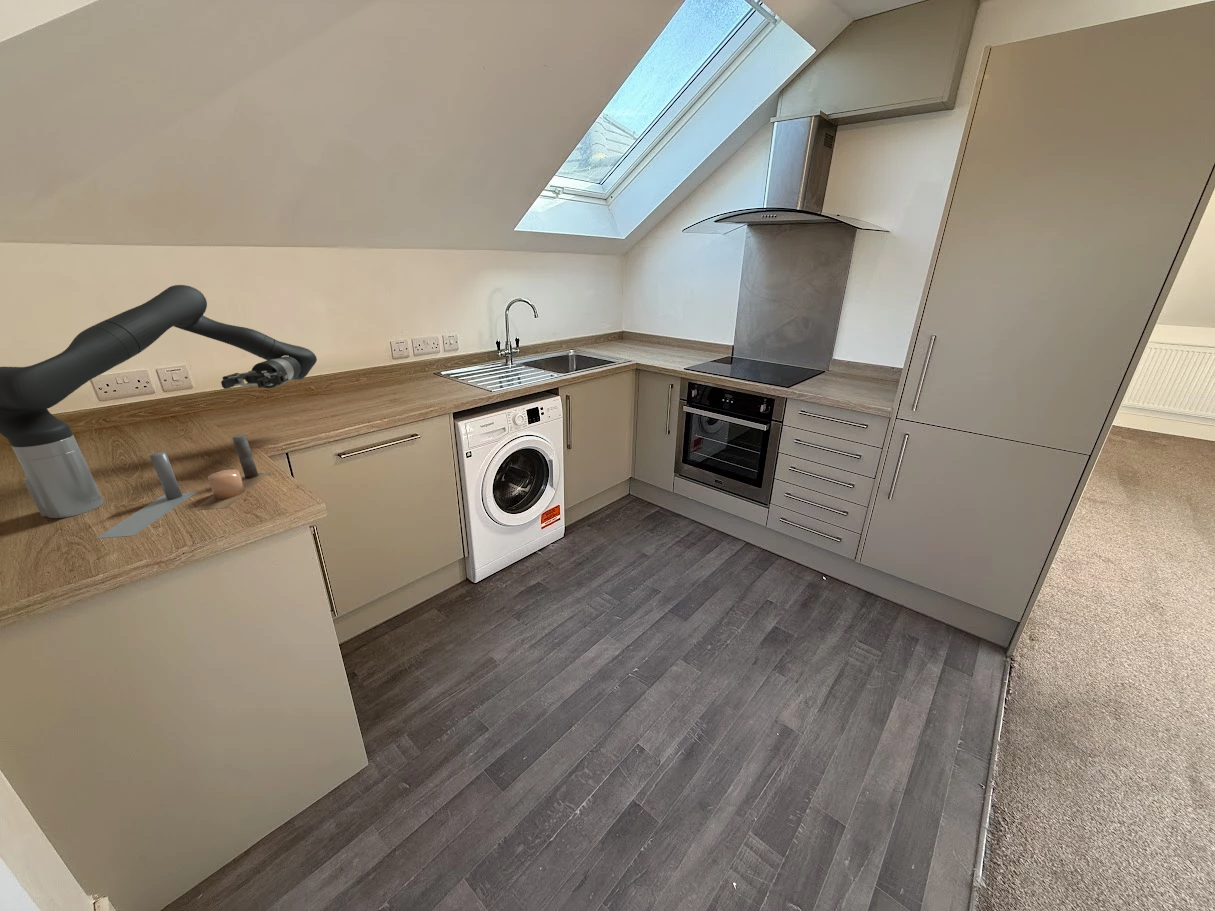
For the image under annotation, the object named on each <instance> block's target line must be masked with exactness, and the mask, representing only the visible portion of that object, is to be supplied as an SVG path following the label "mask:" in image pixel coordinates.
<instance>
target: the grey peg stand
mask: <svg viewBox="0 0 1215 911" xmlns="http://www.w3.org/2000/svg"><path fill="white" fill-rule="evenodd" d="M149 457H150V460H151V463H152V465H153V467H154V470H155V473H156V474H157V475H156V476H157V477H158V480H159V482H160V485H161V487H162V490H163V492H164V494H162V495H161V496H159V497H158V498H156V499H154V500H153V501H152V502H151V501H150V503H148V504H147V505H146V506H144V507H142V508H141V509H139V510H138V511H136V512H134V513H133V514H131V515H129V516H128V517H127V518H125V519H124V520H122V521H120V522H118V523H117V524H116V525H113V527H111V528H109V529H108V530H106V531H104V532H103V533H102V534H100V535H98V536H97V537H95V539H96V540H97V539H108V538H109V539H110V538H120V537H122V538H123V537H134V536H136V535H138V534H139V533H140V532H141V531H143V530H144V529H146V528H147V527H149V526H150V525H151V524H153V523H154V522H156V521H158V520H159V519H161V518H162V517H163V516H165V515H166V514H168V513H169V512H171V511H172V510H174V509H175V508H176V507H178V506H179V505H181V504H182V503H183V502H185V501H186V500H188V499H189V498H191V497H192V496H193V495H195V494H197V492H196V491H195V492H194V491H193V492H182V491H181V488H180V485H179V483H178V481H177V478H176V475H175V473H174V470H173V468H172V465H171V462H170V459H169V457H168V455H167V452H165V451H161V452H160V451H159V452H155V453H152V454H150V455H149Z"/></svg>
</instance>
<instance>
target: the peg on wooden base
mask: <svg viewBox="0 0 1215 911" xmlns="http://www.w3.org/2000/svg"><path fill="white" fill-rule="evenodd" d="M232 442H233V444H234V447H235V450H236V453H237V456H238V459H239V462H240V466H241V469H242V472H243V473H241V474H240V476H241V479H242V482H243V485H244V488H245V491H244V492H243V493H242V494H240V495H238V496H235V497H231V498H227V499H216V498H215V497H214V495H213V494H212V495H211V496H210V497H209V498H207V499H206V500H203V502H202V503H200V504H199V505H198V506H196V507H195V508H193V511H205V510H206V511H207V510H218V509H227V508H229V507H230V506H231V505H232V504H234V503H235V502H236V501H237V500H238V499H239V498H241V497H242V496H244V494H246V493H247V492H248V491H250V490H251V489H252V488H253V487H255V485H257V484H258V483H259V482H261V481H262V480H264V478H265V477H267V476H272V474H271V472H258V470H257V466H256V463H255V459H254V457H253V453H252V450H251V446H250V443H249V441H248V437H247V435H246V434H238V435H234V436H233V437H232Z"/></svg>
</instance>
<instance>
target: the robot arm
mask: <svg viewBox="0 0 1215 911" xmlns="http://www.w3.org/2000/svg"><path fill="white" fill-rule="evenodd" d="M207 308H208V302H207V299H206V297H205V295H204V294H203V292H201V290H198V289H197V288H196V287H194V286H190V285H185V284H174V285H171V286H169V287H167V288H165V289H164V290H163V291H161V292H159V294H157V295H156V296H154V297H153V298H150V299H149V300H147V301H145V303H142V304H140V305H138V306H135V307H133V308H130V309H126V310H125V311H123V312H120V313H119V314H116V315H114V316H112V317H109V318H107V319H104V320H102V321H100V322H98V323H95V324H93V325H92V326H90V327H87V328H85V329H83V330H82V331H81V332H79V333H78V334H77V335H76V336H75V337H74V338H73V340H72V341H71V342H70V344H69V345H68V346H67V347H66V349H65V350H63V351H62V352H60V353H58V354H57V355H54V356H52V357H50V358H47V359H45V360H43V361H40V362H38V363H35V364H32V365H28V366H0V435H2V436H3V437H5V439H6V440H7V441H8V443H9V444H10V446H11V449H12V451H13V452H14V454H15V456H16V458H17V460H18V461H19V463H20V465H21V467H22V469H23V472H24V474H25V475H26V476H25V477H23V479H22V481H23V482H24V484H25V486H26V489H27V490H28V492H29V494H30V496H31V498H32V500H33V501H34V503H35V506H36V508H37V510H38V512H39V513H40V515H41V517H47V518H50V519H61V518H70V517H74V516H79V515H82V514H85V513H88V512H91V511H94V510H95V509H97V508H99V507H100V506H103V504H104V499H103V497H102V495H101V493H100V489H98V488H99V487H98V486H97V483H96V482H95V478H94V477H93V474H92V472H91V470H90V468H89V465H88V464H87V461H86V459H85V457H84V455H83V452H82V451H81V448H80V446H79V444H78V441H77V440H76V438H75V436H74V433H73V431H72V429H71V427H70V426H69V424H68V423H67V422H65V421H64V420H61V419H59V418H57V417H56V416H54V415H53V413H51V412H50V411H49V410H48V409H50V408H52V407H55V406H56V405H58V404H59V403H60V402H62V401H63V400H65V399H66V398H67V397H68V396H70V395H71V394H73V393H74V392H75V391H77V390H78V389H79V388H81V387H82V386H83V385H85V384H86V383H88V382H90V381H91V380H92V379H94V378H96V377H98V376H100V375H102V374H104V373H105V372H108V371H109V370H111V369H113V368H114V367H117V366H119V365H120V364H122V363H125V362H127V361H128V360H130V359H132V358H133V357H135V356H137V355H138V354H140V353H142V352H143V351H145V350H146V349H147V348H149V347H150V346H151V345H152V344H154V343H155V342H156V341H157V340H159V339H160V337H161V336H162V335H164V334H165V333H166V332H167V331H168V330H170V329H171V328H173V327H174V328H177V329H180V330H183V331H186V332H190V333H192V334H196V335H199V336H203V337H205V338H207V339H208V338H209V339H210V340H211V339H212V340H215V341H218V342H222V343H224V344H227V345H230V346H232V347H236V348H238V349H240V350H243V351H245V352H248V353H249V354H252V355H255V356H256V357H258V358H261V359H263V360H264V361H261V362H258V363H256V364H255V365H253V366H252V368H251V370H249V371H247V372H242V373H239V372H235V373H232V374H228V375H225V376H222V380H221V381H220V384H221V387H222V388H223V389H225V390H226V389H227V390H228V389H230V388H234V387H237V386H240V387H249V386H257V387H258V388H259V389H261V388H264V389H274V388H276V387H279V386H281V385H283V384H285V383H287V382H289V381H291V380H297V381H300V380H303V379H304V378H306V376H308V374H309V373H310V371H311V370H312V368H314V366H315V365H316V363H317V360H318V359H317V355H316V354H315V353H314V352H313V351H312V350H311V349H309V348H306V347H303V346H299V345H295V344H291V343H287V342H284V341H283V342H282V341H280V340H277V339H275V338H273V337H271V336H269V335H267V334H265V333H262V332H260V331H258V330H256V329H253V328H249V327H244V326H238V325H233V324H232V325H231V324H228V323H223V322H220V321H218V320H217V321H216V320H214V319H211V318H209V317H207V316H205V315H204V314H205V313H206V312H207V311H206V310H207ZM245 382H246V383H245Z"/></svg>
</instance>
